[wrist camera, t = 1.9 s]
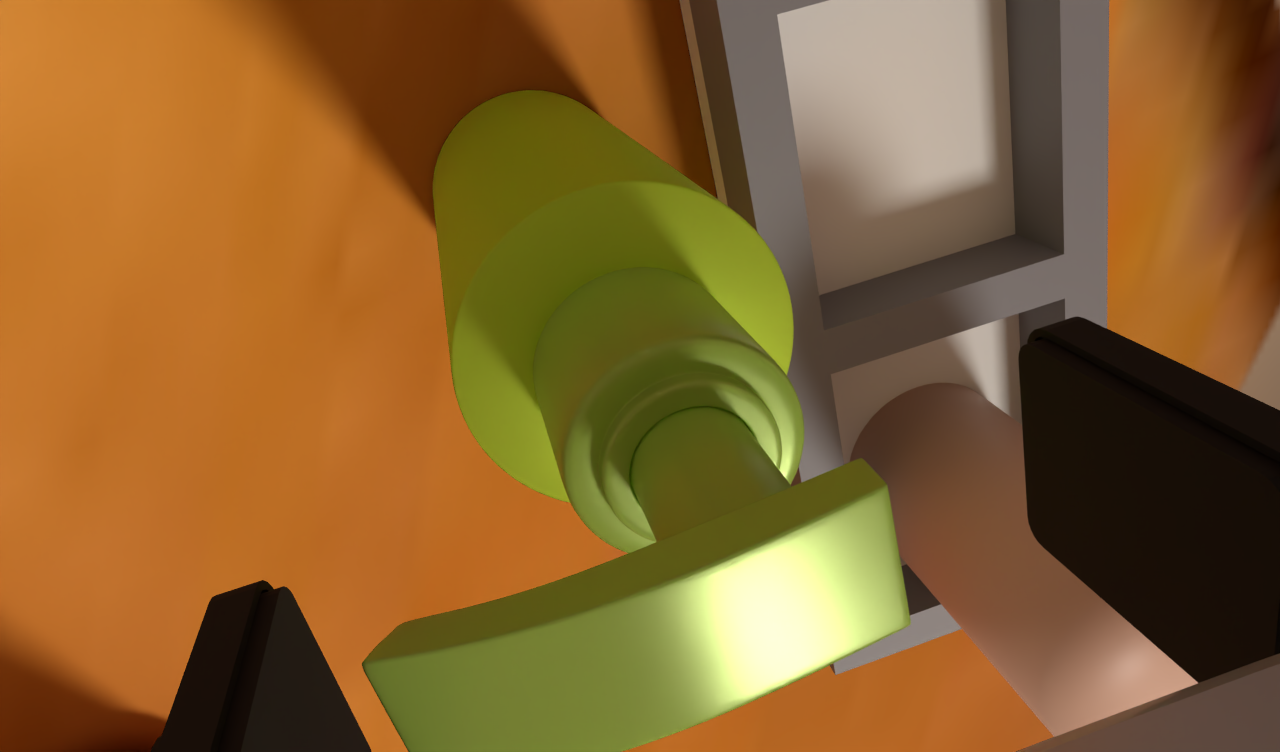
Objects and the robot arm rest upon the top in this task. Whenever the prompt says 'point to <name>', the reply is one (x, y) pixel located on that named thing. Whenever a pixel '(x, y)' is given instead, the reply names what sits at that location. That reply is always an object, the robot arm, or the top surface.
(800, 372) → the rail
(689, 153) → the top surface
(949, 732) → the top surface
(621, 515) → the soap dispenser
